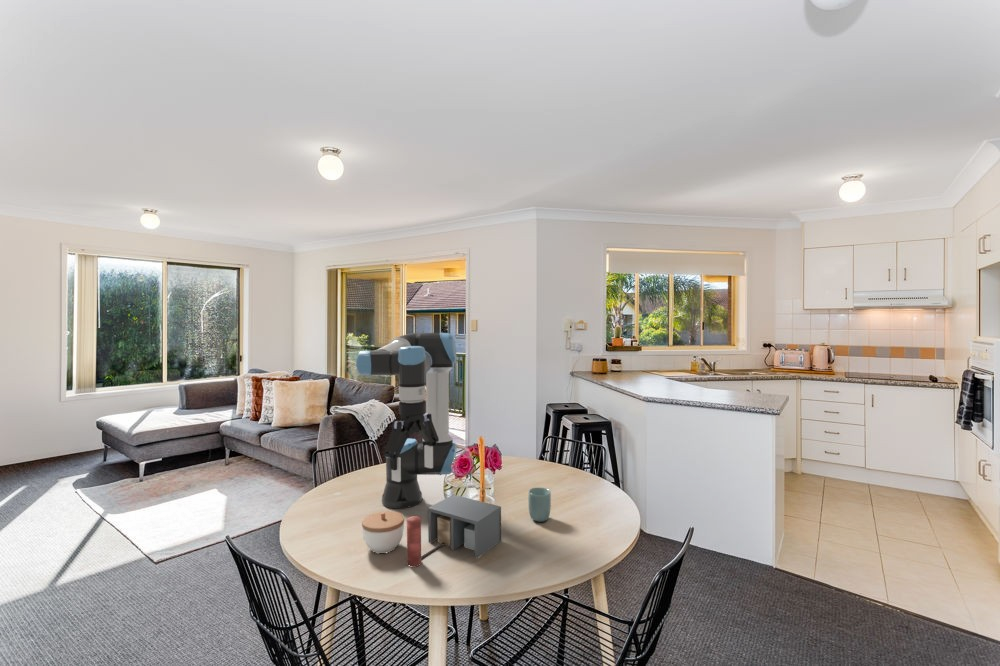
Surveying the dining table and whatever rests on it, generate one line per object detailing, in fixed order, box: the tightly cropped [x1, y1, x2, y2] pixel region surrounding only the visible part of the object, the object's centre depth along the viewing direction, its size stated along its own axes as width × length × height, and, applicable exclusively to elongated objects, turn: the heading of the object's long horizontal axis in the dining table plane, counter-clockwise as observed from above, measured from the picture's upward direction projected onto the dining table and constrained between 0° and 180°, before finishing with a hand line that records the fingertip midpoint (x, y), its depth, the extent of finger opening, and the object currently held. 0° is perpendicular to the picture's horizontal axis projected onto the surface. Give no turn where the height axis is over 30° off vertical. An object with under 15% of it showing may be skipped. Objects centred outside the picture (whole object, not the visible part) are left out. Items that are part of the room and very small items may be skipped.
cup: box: [528, 487, 552, 523], centre depth 169 cm, size 8×8×10 cm
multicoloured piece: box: [406, 515, 451, 567], centre depth 147 cm, size 5×20×13 cm, turn 148°
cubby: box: [427, 494, 502, 559], centre depth 153 cm, size 19×13×11 cm
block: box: [463, 524, 475, 551], centre depth 150 cm, size 5×5×6 cm
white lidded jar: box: [361, 510, 405, 554], centre depth 149 cm, size 13×13×11 cm
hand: (413, 473), depth 139 cm, fingers open, 13 cm apart
